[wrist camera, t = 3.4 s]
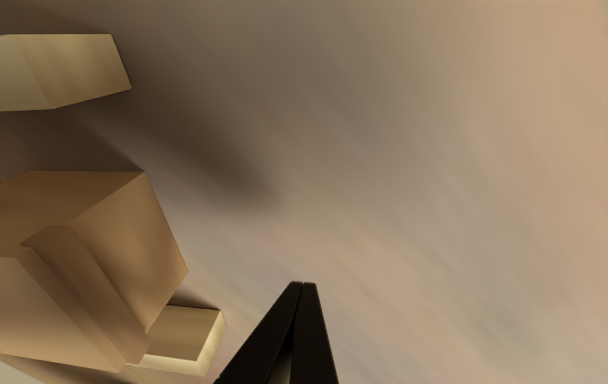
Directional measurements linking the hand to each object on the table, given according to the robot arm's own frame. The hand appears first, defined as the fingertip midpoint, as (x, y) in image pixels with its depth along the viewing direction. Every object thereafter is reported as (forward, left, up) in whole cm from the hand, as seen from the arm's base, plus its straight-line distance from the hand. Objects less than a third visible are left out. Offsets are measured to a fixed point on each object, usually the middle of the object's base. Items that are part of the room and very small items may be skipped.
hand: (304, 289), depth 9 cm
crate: (0, +10, -3) cm, 10 cm away
